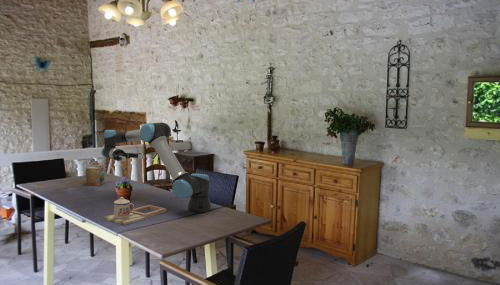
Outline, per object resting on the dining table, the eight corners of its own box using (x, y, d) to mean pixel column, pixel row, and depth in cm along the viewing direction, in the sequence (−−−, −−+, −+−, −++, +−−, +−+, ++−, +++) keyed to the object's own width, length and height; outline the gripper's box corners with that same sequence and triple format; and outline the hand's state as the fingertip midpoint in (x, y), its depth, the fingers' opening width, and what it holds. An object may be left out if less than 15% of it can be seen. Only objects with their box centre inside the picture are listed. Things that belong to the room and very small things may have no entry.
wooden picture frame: (166, 211, 260) (166, 208, 260) (144, 218, 245) (144, 214, 245) (149, 207, 268) (149, 204, 268) (127, 213, 253) (127, 210, 253)
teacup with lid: (117, 220, 234) (117, 199, 233) (110, 216, 241) (110, 196, 240) (137, 216, 243) (137, 197, 241) (130, 213, 249) (130, 194, 248)
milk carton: (99, 186, 328) (99, 162, 326) (86, 185, 328) (85, 161, 326) (104, 183, 338) (104, 160, 336) (91, 183, 338) (91, 159, 336)
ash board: (145, 219, 243) (145, 216, 243) (124, 225, 231) (124, 222, 231) (124, 213, 253) (124, 211, 253) (103, 219, 241) (103, 216, 240)
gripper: (133, 158, 288) (151, 162, 274) (99, 161, 270) (116, 166, 255) (133, 147, 287) (151, 151, 273) (99, 150, 269) (116, 153, 255)
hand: (134, 158), depth 264 cm, fingers open, 13 cm apart
